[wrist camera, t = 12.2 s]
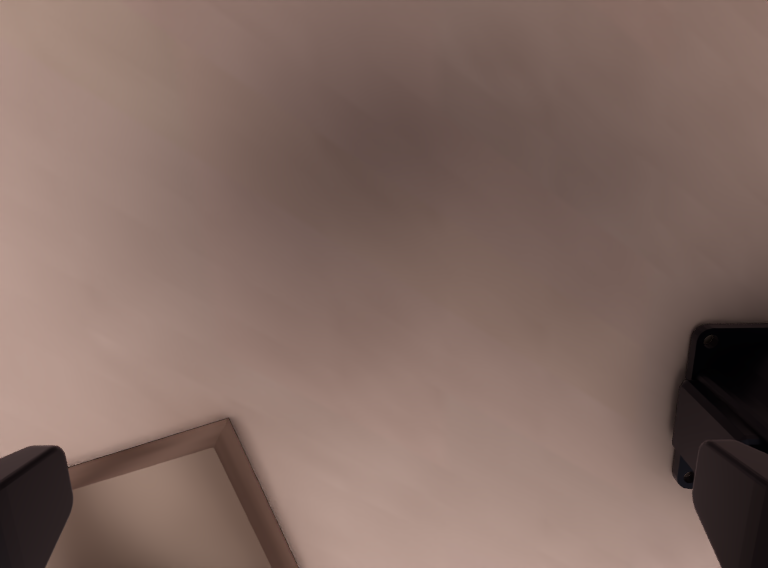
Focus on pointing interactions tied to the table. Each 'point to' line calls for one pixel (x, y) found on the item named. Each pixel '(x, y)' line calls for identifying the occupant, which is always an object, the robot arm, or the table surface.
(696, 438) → the robot arm
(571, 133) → the table surface
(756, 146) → the table surface
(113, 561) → the walnut plinth
